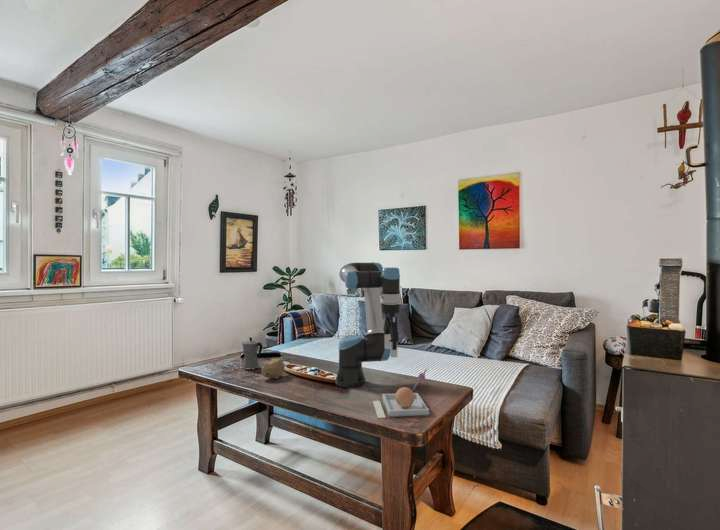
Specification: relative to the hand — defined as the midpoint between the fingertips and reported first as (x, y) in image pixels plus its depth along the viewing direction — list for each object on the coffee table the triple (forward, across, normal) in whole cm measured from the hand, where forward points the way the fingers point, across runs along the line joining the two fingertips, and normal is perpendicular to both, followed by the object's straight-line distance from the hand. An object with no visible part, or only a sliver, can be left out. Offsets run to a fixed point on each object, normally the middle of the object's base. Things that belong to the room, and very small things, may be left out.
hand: (390, 352), depth 160 cm
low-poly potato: (+24, -45, -55) cm, 75 cm away
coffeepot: (+24, -65, -70) cm, 98 cm away
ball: (+21, +5, +5) cm, 22 cm away
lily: (+23, -18, +19) cm, 35 cm away
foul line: (+22, +6, -6) cm, 23 cm away
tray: (+22, +5, +5) cm, 23 cm away
